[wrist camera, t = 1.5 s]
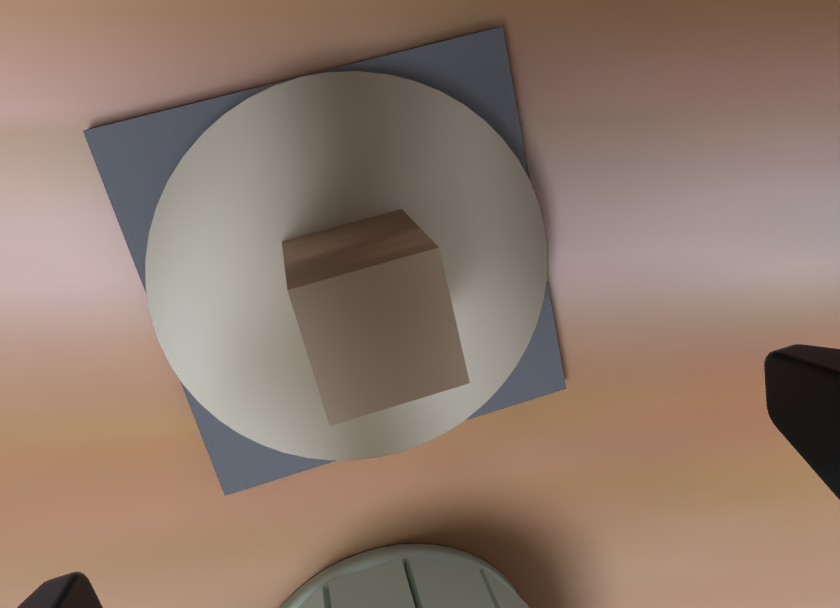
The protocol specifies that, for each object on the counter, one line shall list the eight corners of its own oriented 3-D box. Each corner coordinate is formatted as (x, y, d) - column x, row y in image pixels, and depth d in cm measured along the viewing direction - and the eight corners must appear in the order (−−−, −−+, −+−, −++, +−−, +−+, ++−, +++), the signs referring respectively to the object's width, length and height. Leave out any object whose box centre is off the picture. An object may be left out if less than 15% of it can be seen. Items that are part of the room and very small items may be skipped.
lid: (502, 26, 17) (581, 14, 13) (565, 388, 21) (644, 471, 17) (83, 130, 16) (19, 154, 12) (224, 495, 20) (214, 614, 15)
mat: (497, 27, 18) (502, 26, 17) (560, 382, 21) (565, 388, 21) (87, 129, 17) (83, 130, 16) (225, 487, 20) (224, 495, 20)
